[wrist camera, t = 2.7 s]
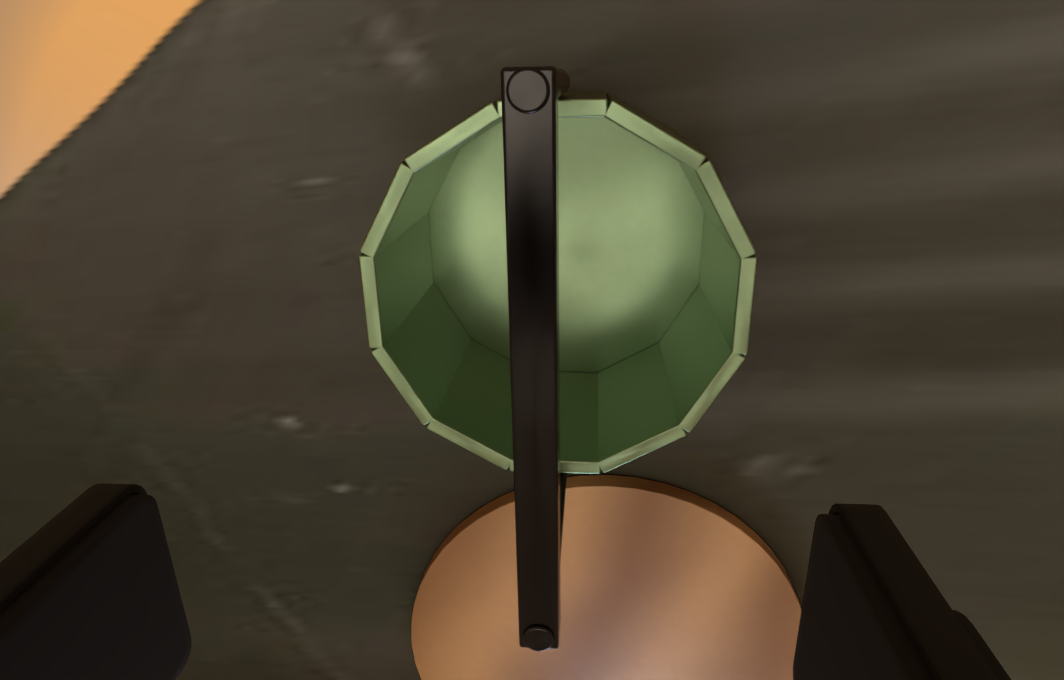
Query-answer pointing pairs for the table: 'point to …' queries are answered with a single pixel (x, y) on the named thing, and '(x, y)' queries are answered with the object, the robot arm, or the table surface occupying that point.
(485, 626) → the trivet
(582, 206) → the pot
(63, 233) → the table surface
